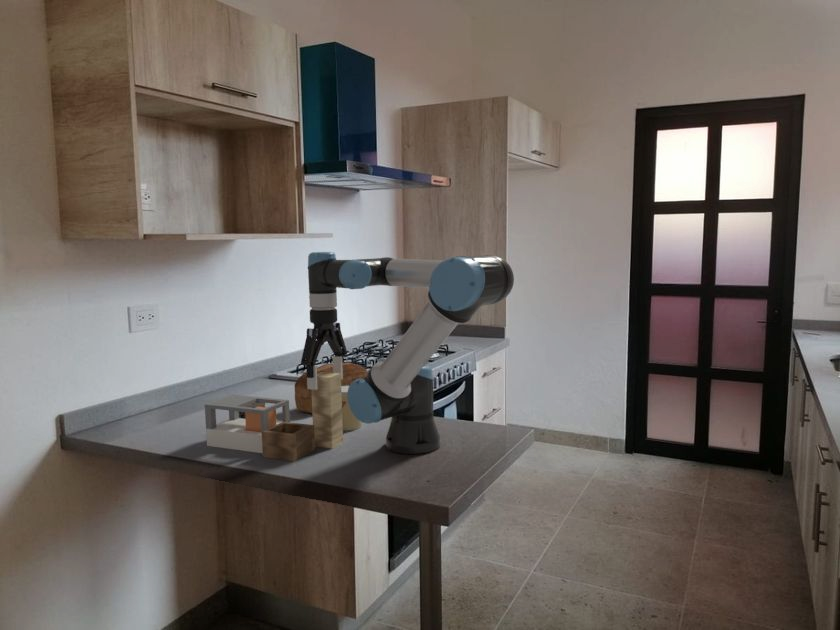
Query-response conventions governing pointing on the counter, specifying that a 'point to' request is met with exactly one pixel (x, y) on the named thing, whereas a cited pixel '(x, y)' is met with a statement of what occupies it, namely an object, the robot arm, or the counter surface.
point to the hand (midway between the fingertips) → (325, 383)
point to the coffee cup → (348, 413)
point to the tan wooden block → (327, 410)
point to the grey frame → (240, 422)
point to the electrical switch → (261, 404)
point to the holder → (288, 441)
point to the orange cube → (259, 420)
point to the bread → (349, 372)
